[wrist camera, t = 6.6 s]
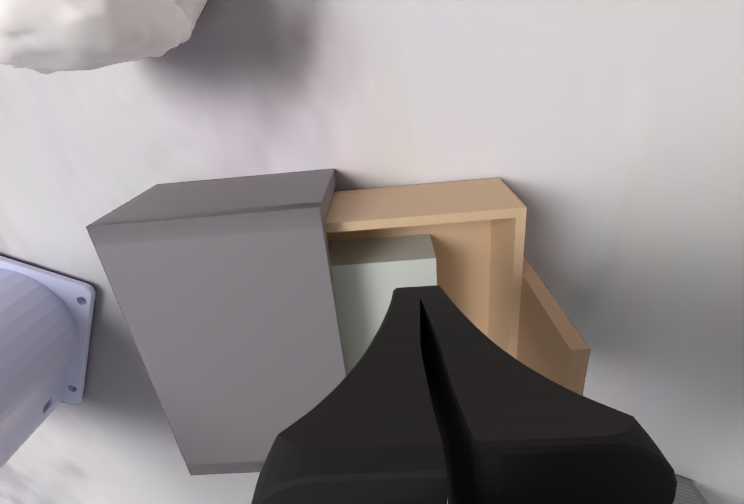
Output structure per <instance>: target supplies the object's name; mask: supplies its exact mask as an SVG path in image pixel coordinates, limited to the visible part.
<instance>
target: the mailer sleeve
mask: <svg viewBox="0 0 744 504" xmlns="http://www.w3.org/2000/svg"><path fill="white" fill-rule="evenodd" d="M335 187H336V178H335V171H334V169H325V170H313V171H302V172H291V173H280V174H269V175H257V176H246V177H235V178H224V179H213V180H201V181H190V182H179V183H168V184H157V185H155V186H153V187H152V188H150V189H148V190H147V191H145V192H143V193H142V194H140V195H138V196H137V197H135V198H133V199H132V200H130V201H128V202H127V203H125V204H123V205H122V206H120V207H118V208H117V209H115V210H113V211H112V212H110V213H108V214H107V215H105V216H103V217H102V218H100V219H98V220H97V221H95V222H93V223H92V224H90V225H88V226H87V227H86V228H87V230H88V233H89V235H90V238H91V240H92V242H93V245H94V247H95V249H96V252H97V254H98V257H99V259H100V261H101V264H102V266H103V268H104V271H105V273H106V275H107V278H108V280H109V283H110V285H111V287H112V290H113V292H114V294H115V297H116V299H117V302H118V304H119V306H120V309H121V311H122V313H123V316H124V318H125V321H126V323H127V325H128V328H129V330H130V332H131V335H132V337H133V340H134V342H135V344H136V347H137V349H138V351H139V354H140V356H141V359H142V361H143V363H144V366H145V368H146V370H147V373H148V375H149V378H150V380H151V382H152V385H153V387H154V389H155V392H156V394H157V397H158V399H159V401H160V404H161V406H162V408H163V411H164V413H165V416H166V418H167V420H168V423H169V425H170V427H171V430H172V432H173V435H174V437H175V439H176V442H177V444H178V446H179V449H180V451H181V454H182V456H183V458H184V461H185V463H186V465H187V468H188V470H189V473H190V475H206V474H226V473H247V472H261V470H262V467H263V465H264V463H265V460H266V458H267V456H268V453H269V451H270V449H271V447H272V445H273V443H274V441H275V439H276V437H277V435H278V434H279V433H280V432H282V431H283V430H285V429H286V428H288V427H289V426H290V425H292V424H293V423H294V422H296V421H297V420H299V419H300V418H301V417H303V416H304V415H306V414H307V413H308V412H309V411H311V410H312V409H313V408H314V407H315V406H317V405H318V404H319V403H320V402H321V401H322V400H323V399H324V398H325V397H326V396H327V395H329V394H330V393H331V392H332V391H333V390H334V389H335V388H336V387H337V386H338V385H339V384H340V383H341V381H342V380H343V379H344V378H345V377H346V376H347V374H348V372H347V366H346V359H345V353H344V346H343V340H342V333H341V327H340V320H339V314H338V307H337V301H336V294H335V288H334V281H333V275H332V268H331V262H330V255H329V249H328V243H327V236H326V230H325V223H324V221H325V218H326V214H327V211H328V208H329V205H330V202H331V199H332V196H333V193H334V190H335Z"/></svg>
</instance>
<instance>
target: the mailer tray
mask: <svg viewBox="0 0 744 504" xmlns="http://www.w3.org/2000/svg"><path fill="white" fill-rule="evenodd" d="M526 214H527V207H526V206H525V205H524V204H523V203H522V202H521V200H520V199H519V198H518V197H517V196H516V195H515V194H514V193H513V192H512V191H511V190H510V189H509V188H508V187H507V186H506V184H505V183H504V182H503V181H502V180H501V179H500V178H487V179H475V180H464V181H452V182H441V183H429V184H417V185H406V186H394V187H382V188H371V189H359V190H348V191H336V192H334V193H333V196H332V199H331V202H330V205H329V208H328V211H327V214H326V218H325V221H324V223H325V230H326V236H327V243H328V249H329V255H330V262H331V268H332V275H333V281H334V288H335V294H336V301H337V307H338V314H339V320H340V327H341V333H342V340H343V346H344V353H345V359H346V366H347V372H348V373H349V372H350V371H351V370H352V369H353V367H354V366H355V365H356V364H357V362H358V361H359V360H360V358H361V357H362V355H363V354H364V353H365V351H366V350H367V348H368V347H369V345H370V343H371V342H372V340H373V338H374V336H375V335H376V333H377V331H378V330H379V328H380V326H381V324H382V321H383V319H384V317H385V315H386V313H387V310H388V308H389V305H390V302H391V299H392V294H393V291H394V290H395V289H396V288H402V287H418V286H434V285H439V286H440V287H441V288H442V289H443V290H444V292H445V293H446V294H447V295H448V297H449V298H450V299H451V300H452V301H453V303H454V304H455V305H456V306H457V307H458V308H459V310H460V311H461V312H462V313H463V314H464V315H465V316H466V317H467V318H468V319H469V320H470V321H471V322H472V323H473V324H474V325H475V326H476V327H477V328H478V329H479V330H480V331H481V332H482V333H483V334H485V335H486V336H487V337H488V338H489V339H490V340H491V341H493V342H494V343H495V344H496V345H497V346H499V347H500V348H501V349H503V350H504V351H506V352H507V353H508V354H510V355H511V356H512V357H514V358H515V359H517V360H518V361H520V362H521V363H523V364H524V365H526V366H527V367H529V368H531V369H533V370H534V371H536V372H538V373H539V374H541V375H543V376H544V377H546V378H548V379H550V380H552V381H553V382H555V383H557V384H559V385H561V386H563V387H565V388H567V389H569V390H571V391H573V392H575V393H578V394H580V395H583V389H584V383H585V377H586V371H587V365H588V359H589V353H590V348H589V346H588V345H587V344H586V342H585V341H584V339H583V338H582V337H581V335H580V334H579V332H578V331H577V329H576V328H575V327H574V325H573V324H572V322H571V321H570V320H569V318H568V317H567V315H566V314H565V312H564V311H563V310H562V308H561V307H560V305H559V304H558V303H557V301H556V300H555V298H554V297H553V295H552V294H551V293H550V291H549V290H548V288H547V287H546V285H545V284H544V283H543V281H542V280H541V278H540V277H539V276H538V274H537V273H536V271H535V270H534V268H533V267H532V266H531V264H530V263H529V261H528V260H527V259H526V257H525V256H524V242H525V228H526Z"/></svg>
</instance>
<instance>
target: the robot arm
mask: <svg viewBox="0 0 744 504" xmlns="http://www.w3.org/2000/svg"><path fill="white" fill-rule="evenodd" d="M82 297H83V298H84V299H85V300H86V301H85V300H83V299H82ZM94 300H95V290H94V288H93V287H92V286H91V285H89V284H87V283H84V282H81V281H78V280H75V279H72V278H69V277H66V276H62V275H59V274H56V273H53V272H50V271H47V270H44V269H40V268H37V267H34V266H31V265H28V264H25V263H22V262H18V261H15V260H12V259H9V258H6V257H3V256H0V469H1V467H2V466H3V465H4V464H5V463H6V462H7V461H8V460H9V459H10V457H11V456H12V455H13V454H14V453H15V452H16V451H17V450H18V449H19V448H20V446H21V445H22V444H23V443H24V442H25V441H26V440H27V439H28V438H29V437H30V435H31V434H32V433H33V432H34V431H35V430H36V429H37V428H38V427H39V426H40V424H41V423H42V422H43V421H44V420H45V419H46V418H47V417H48V416H49V415H50V413H51V412H52V411H53V410H54V409H55V408H56V407H57V406H58V405H59V404H60V402H64V403H67V404H71V405H76V404H78V403H79V402H80V401H81V400H82V398H83V391H84V382H85V374H86V366H87V358H88V350H89V341H90V333H91V325H92V317H93V309H94ZM676 489H677V480H676V476H675V473H674V470H673V468H672V467H671V465H670V464H669V462H668V461H667V460H666V458H665V457H664V455H663V454H662V453H661V451H660V450H659V448H658V447H657V445H656V444H655V443H654V441H653V440H652V439H651V437H650V436H649V435H648V434H647V433H646V431H645V430H644V429H643V428H642V427H641V425H640V424H639V423H638V422H637V421H636V419H635V418H634V417H633V416H631V415H628V414H626V413H623V412H621V411H618V410H616V409H613V408H611V407H608V406H606V405H603V404H601V403H598V402H596V401H593V400H590V399H588V398H586V397H584V396H582V395H580V394H578V393H575V392H573V391H571V390H569V389H567V388H565V387H563V386H561V385H559V384H557V383H555V382H553V381H552V380H550V379H548V378H546V377H544V376H543V375H541V374H539V373H538V372H536V371H534V370H533V369H531V368H529V367H527V366H526V365H524V364H523V363H521V362H520V361H518V360H517V359H515V358H514V357H512V356H511V355H510V354H508V353H507V352H506V351H504V350H503V349H501V348H500V347H499V346H497V345H496V344H495V343H494V342H493V341H491V340H490V339H489V338H488V337H487V336H486V335H485V334H483V333H482V332H481V331H480V330H479V329H478V328H477V327H476V326H475V325H474V324H473V323H472V322H471V321H470V320H469V319H468V318H467V317H466V316H465V315H464V314H463V313H462V312H461V311H460V310H459V308H458V307H457V306H456V305H455V304H454V303H453V301H452V300H451V299H450V298H449V297H448V295H447V294H446V293H445V292H444V290H443V289H442V288H441V287H440V286H439V285H434V286H418V287H402V288H396V289H395V290H394V291H393V294H392V299H391V302H390V305H389V308H388V310H387V313H386V315H385V317H384V319H383V321H382V324H381V326H380V328H379V330H378V331H377V333H376V335H375V336H374V338H373V340H372V342H371V343H370V345H369V347H368V348H367V350H366V351H365V353H364V354H363V355H362V357H361V358H360V360H359V361H358V362H357V364H356V365H355V366H354V367H353V369H352V370H351V371H350V372H349V373H348V374H347V376H346V377H345V378H344V379H343V380H342V381H341V383H340V384H339V385H338V386H337V387H336V388H335V389H334V390H333V391H332V392H331V393H330V394H329V395H327V396H326V397H325V398H324V399H323V400H322V401H321V402H320V403H319V404H318V405H317V406H315V407H314V408H313V409H312V410H311V411H309V412H308V413H307V414H306V415H304V416H303V417H301V418H300V419H299V420H297V421H296V422H294V423H293V424H292V425H290V426H289V427H288V428H286V429H285V430H283V431H282V432H280V433H279V434H278V435H277V437H276V439H275V441H274V443H273V445H272V447H271V449H270V451H269V453H268V456H267V458H266V460H265V463H264V465H263V467H262V470H261V472H260V475H259V478H258V481H257V485H256V488H255V492H254V496H253V499H252V503H251V504H447V499H448V504H673V502H674V499H675V496H676Z"/></svg>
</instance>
